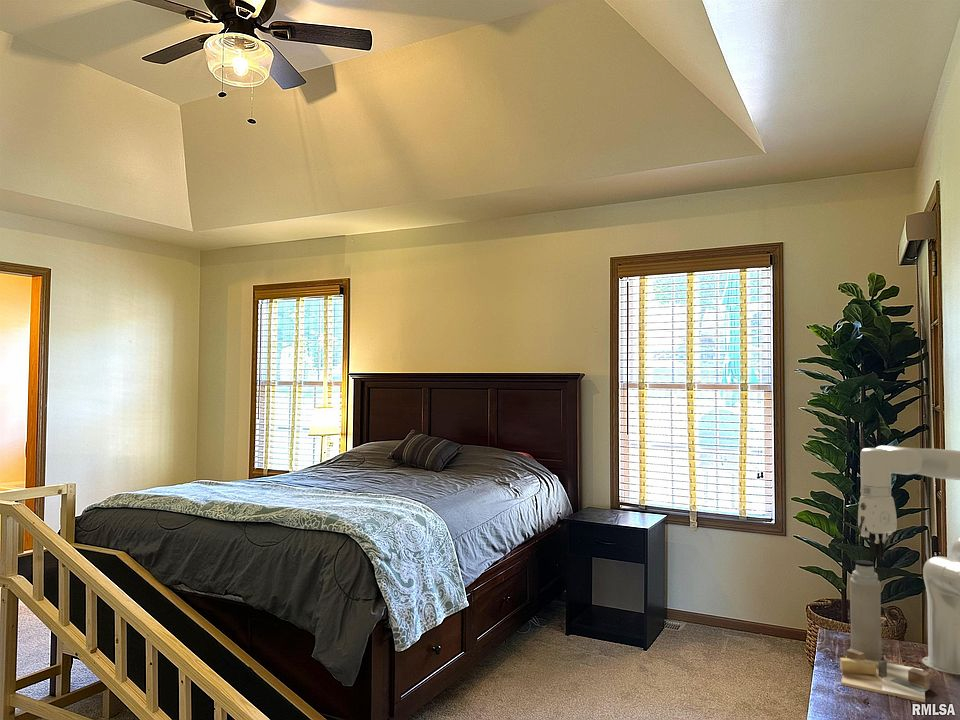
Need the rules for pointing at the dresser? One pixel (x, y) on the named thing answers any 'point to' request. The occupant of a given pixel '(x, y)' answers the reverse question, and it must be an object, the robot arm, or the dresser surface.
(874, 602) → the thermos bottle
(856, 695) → the dresser surface
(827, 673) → the dresser surface
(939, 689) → the dresser surface
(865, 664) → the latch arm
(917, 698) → the door board
